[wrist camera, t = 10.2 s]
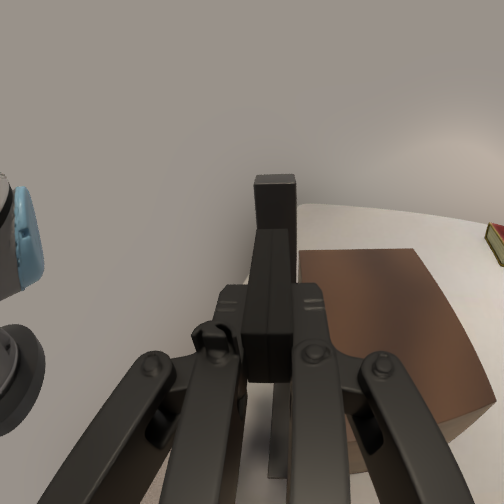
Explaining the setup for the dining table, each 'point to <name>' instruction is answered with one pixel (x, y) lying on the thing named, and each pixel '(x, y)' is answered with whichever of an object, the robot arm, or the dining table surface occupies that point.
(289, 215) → the sliding door
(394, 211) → the dining table surface
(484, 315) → the dining table surface
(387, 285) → the cupboard
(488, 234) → the hardcover book
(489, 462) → the dining table surface
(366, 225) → the dining table surface
